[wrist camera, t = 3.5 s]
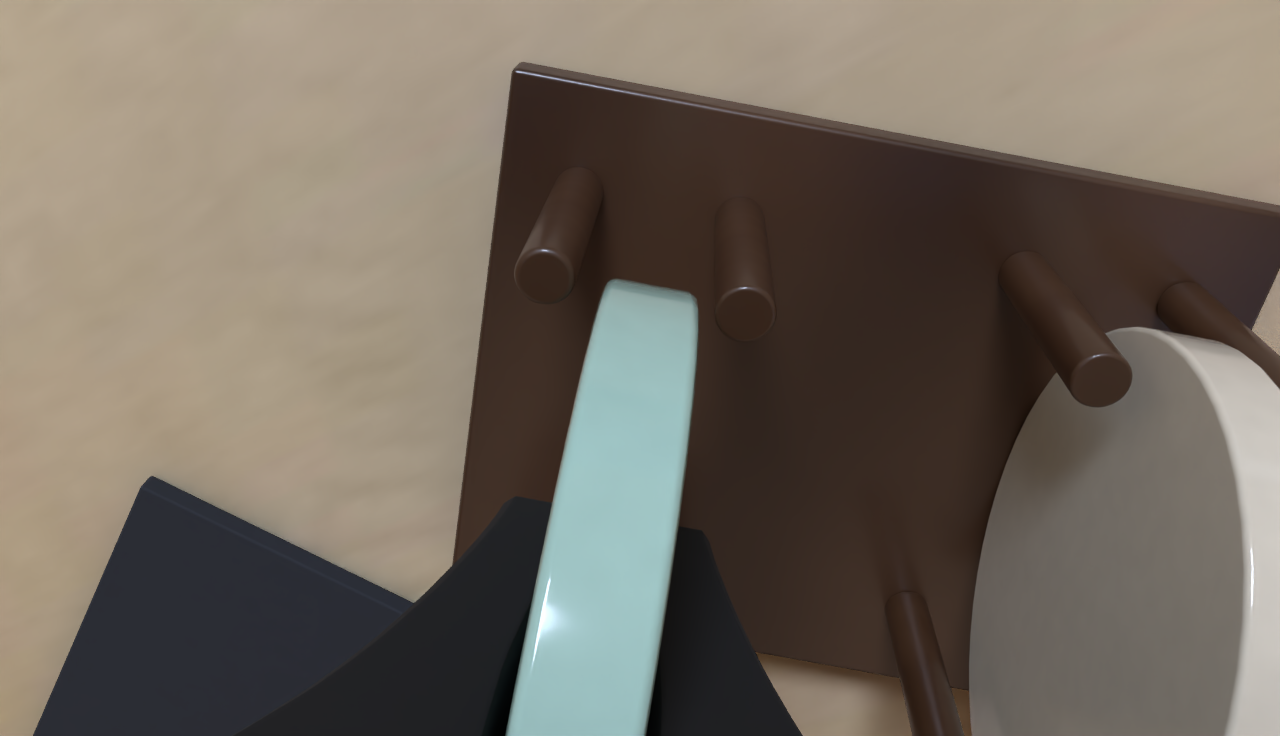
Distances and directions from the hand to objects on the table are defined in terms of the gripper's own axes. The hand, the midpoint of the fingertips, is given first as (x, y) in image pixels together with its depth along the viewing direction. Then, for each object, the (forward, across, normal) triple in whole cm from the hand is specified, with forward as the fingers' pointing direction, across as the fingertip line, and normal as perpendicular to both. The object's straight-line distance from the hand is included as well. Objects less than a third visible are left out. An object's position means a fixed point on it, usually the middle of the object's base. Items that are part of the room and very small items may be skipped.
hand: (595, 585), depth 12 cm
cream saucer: (+1, -6, 0) cm, 6 cm away
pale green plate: (-2, 0, 0) cm, 2 cm away
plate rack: (+6, -3, 0) cm, 6 cm away
